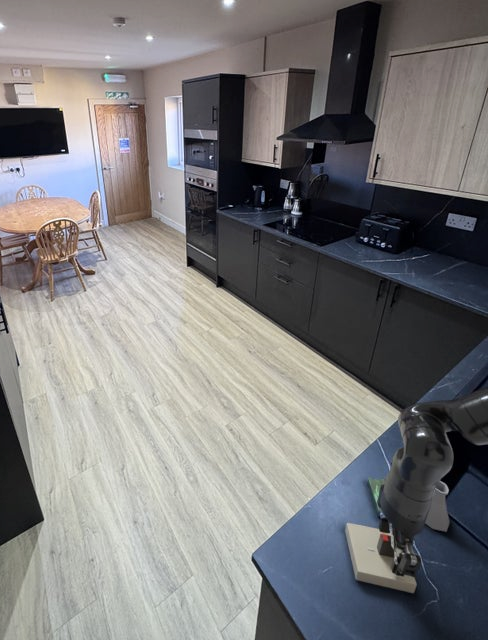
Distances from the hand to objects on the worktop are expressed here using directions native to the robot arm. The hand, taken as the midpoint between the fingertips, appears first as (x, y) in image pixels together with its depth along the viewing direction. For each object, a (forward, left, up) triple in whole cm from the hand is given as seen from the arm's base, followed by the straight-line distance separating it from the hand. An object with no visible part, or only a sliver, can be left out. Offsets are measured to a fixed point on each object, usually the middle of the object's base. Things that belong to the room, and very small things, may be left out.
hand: (390, 550), depth 69 cm
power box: (-5, -13, -4) cm, 14 cm away
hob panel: (+2, 0, -4) cm, 4 cm away
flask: (-14, -12, -4) cm, 19 cm away
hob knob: (0, 0, -1) cm, 1 cm away
